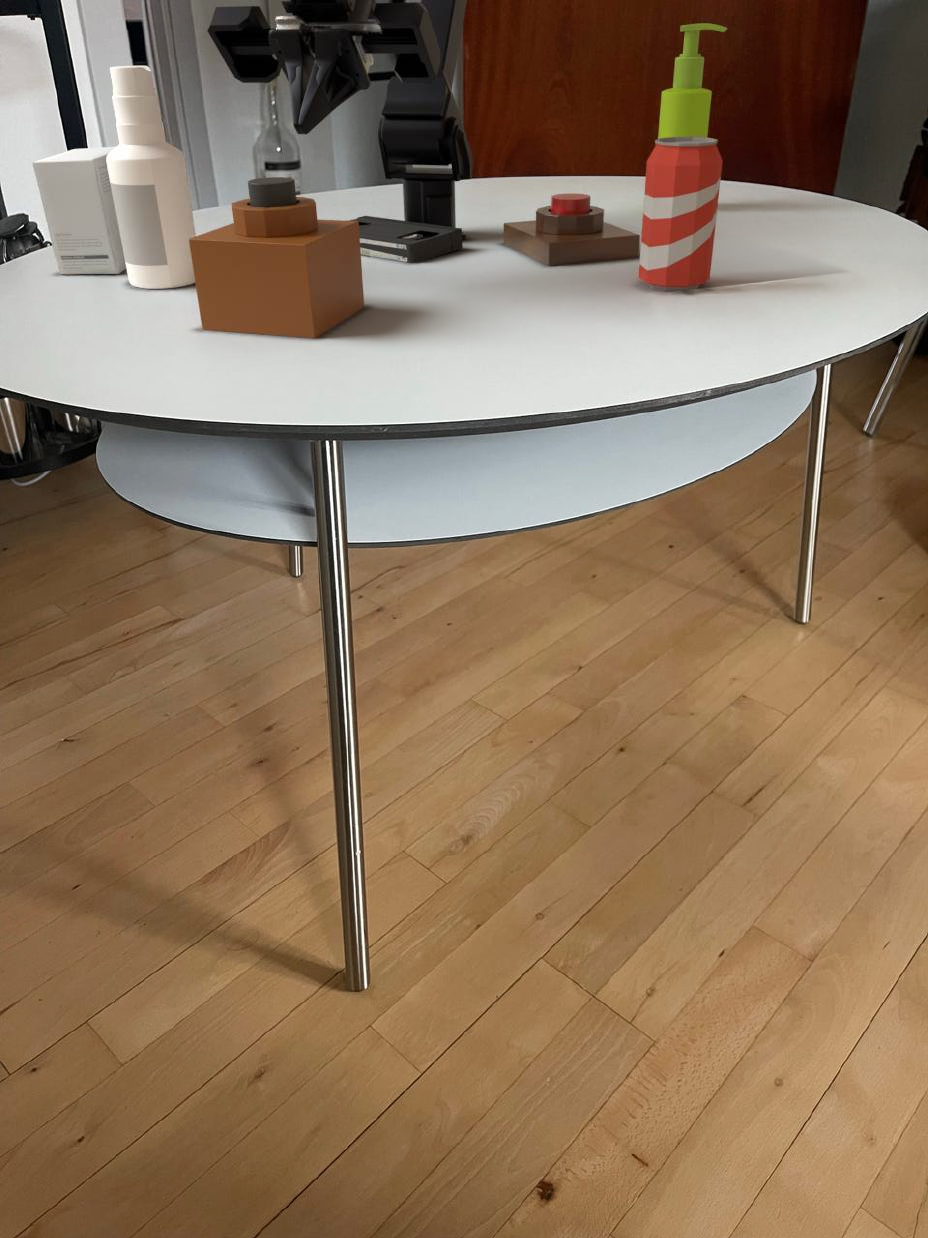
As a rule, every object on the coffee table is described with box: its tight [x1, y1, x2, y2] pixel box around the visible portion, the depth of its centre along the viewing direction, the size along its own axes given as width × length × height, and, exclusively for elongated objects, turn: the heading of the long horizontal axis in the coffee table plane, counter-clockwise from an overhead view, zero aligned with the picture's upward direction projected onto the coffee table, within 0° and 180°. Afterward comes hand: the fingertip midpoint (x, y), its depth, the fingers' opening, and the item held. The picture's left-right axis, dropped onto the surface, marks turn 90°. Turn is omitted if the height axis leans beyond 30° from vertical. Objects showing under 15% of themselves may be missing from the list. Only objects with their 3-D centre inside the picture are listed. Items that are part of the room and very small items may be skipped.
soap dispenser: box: [657, 22, 728, 139], centre depth 120 cm, size 6×7×20 cm
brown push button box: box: [189, 196, 365, 339], centre depth 80 cm, size 10×10×9 cm
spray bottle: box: [106, 65, 197, 290], centre depth 90 cm, size 7×7×18 cm
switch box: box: [503, 205, 641, 267], centre depth 103 cm, size 12×10×4 cm
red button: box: [550, 192, 591, 214], centre depth 102 cm, size 4×4×2 cm
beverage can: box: [638, 137, 724, 293], centre depth 87 cm, size 6×6×12 cm
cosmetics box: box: [31, 146, 127, 275], centre depth 99 cm, size 10×6×10 cm, turn 177°
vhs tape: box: [348, 215, 464, 264], centre depth 106 cm, size 14×8×2 cm, turn 50°
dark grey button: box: [247, 176, 297, 207], centre depth 77 cm, size 4×4×2 cm
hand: (299, 130), depth 80 cm, fingers closed
